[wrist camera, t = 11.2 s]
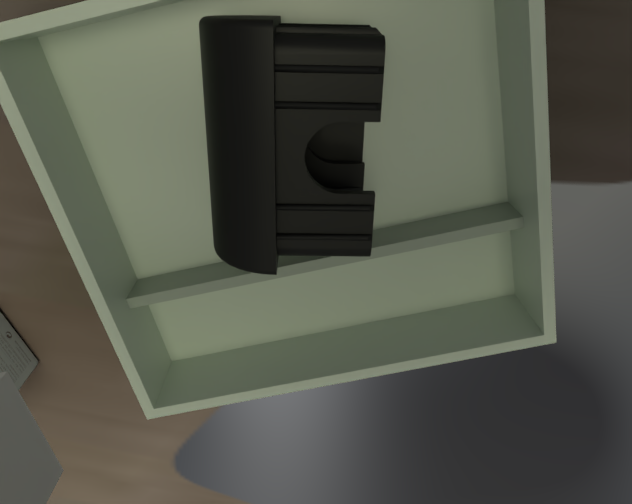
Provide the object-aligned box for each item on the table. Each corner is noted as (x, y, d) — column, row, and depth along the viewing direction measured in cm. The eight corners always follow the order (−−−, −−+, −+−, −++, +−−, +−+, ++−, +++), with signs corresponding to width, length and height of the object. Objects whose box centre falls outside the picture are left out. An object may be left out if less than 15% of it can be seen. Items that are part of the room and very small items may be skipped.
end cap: (214, 13, 24) (183, 17, 18) (369, 17, 25) (390, 22, 18) (225, 218, 29) (203, 277, 22) (357, 219, 29) (371, 278, 23)
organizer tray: (495, -93, 23) (540, -115, 19) (520, 293, 32) (556, 342, 27) (27, 25, 25) (-34, 31, 21) (168, 362, 34) (147, 419, 29)
